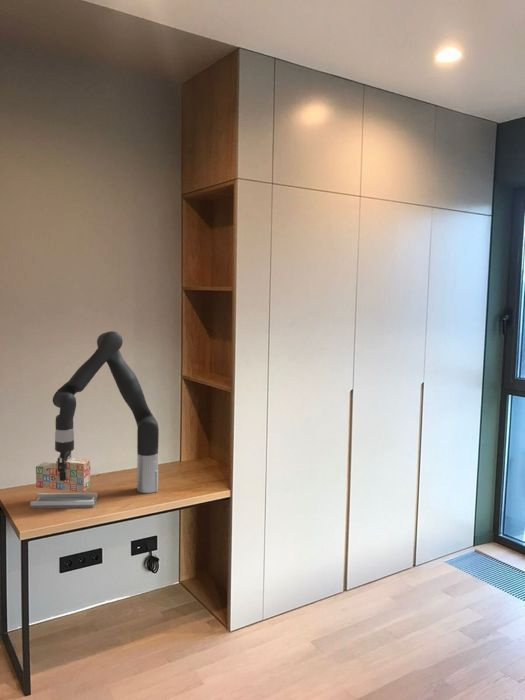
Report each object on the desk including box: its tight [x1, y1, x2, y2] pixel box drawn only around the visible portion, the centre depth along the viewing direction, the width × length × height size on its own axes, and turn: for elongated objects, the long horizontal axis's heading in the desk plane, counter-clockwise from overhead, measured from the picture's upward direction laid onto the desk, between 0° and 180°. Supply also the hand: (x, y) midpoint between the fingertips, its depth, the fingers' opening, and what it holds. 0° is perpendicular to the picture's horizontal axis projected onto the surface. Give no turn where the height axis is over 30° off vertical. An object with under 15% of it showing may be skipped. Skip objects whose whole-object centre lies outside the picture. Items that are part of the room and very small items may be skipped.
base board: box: [30, 492, 98, 509], centre depth 238 cm, size 25×10×3 cm, turn 97°
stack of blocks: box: [35, 457, 91, 493], centre depth 237 cm, size 21×6×12 cm, turn 81°
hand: (64, 477), depth 237 cm, fingers closed on stack of blocks, 7 cm apart
